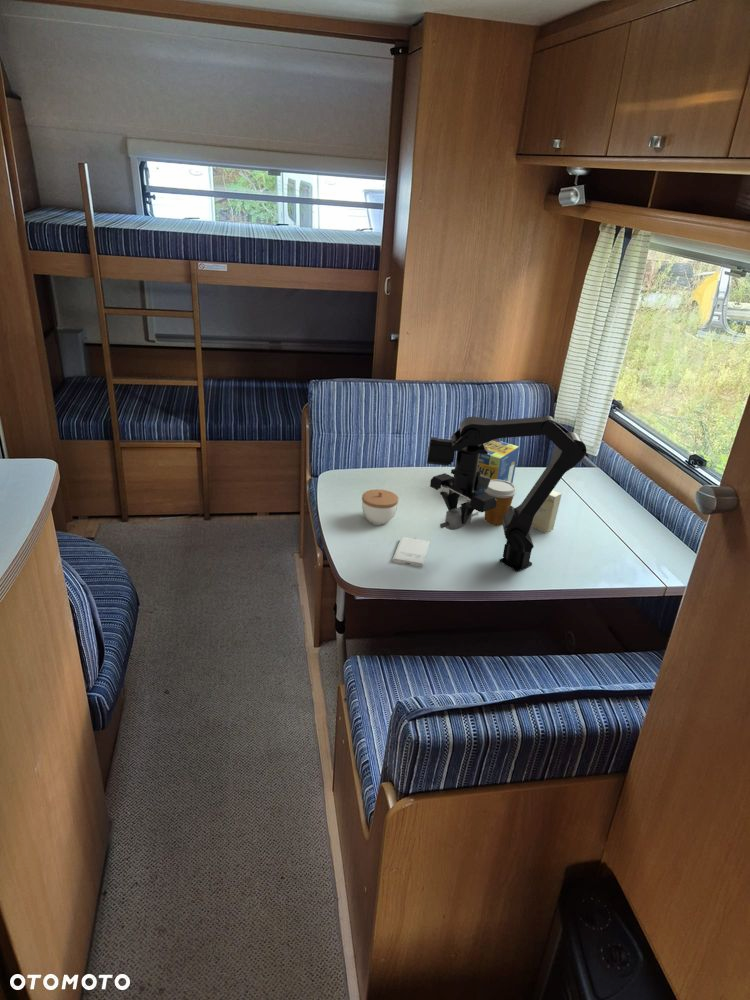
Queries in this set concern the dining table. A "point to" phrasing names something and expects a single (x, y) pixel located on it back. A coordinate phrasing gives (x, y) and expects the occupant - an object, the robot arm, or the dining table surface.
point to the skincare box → (547, 513)
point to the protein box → (498, 462)
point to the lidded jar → (379, 506)
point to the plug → (456, 519)
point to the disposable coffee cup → (499, 500)
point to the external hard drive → (411, 551)
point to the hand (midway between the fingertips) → (458, 521)
